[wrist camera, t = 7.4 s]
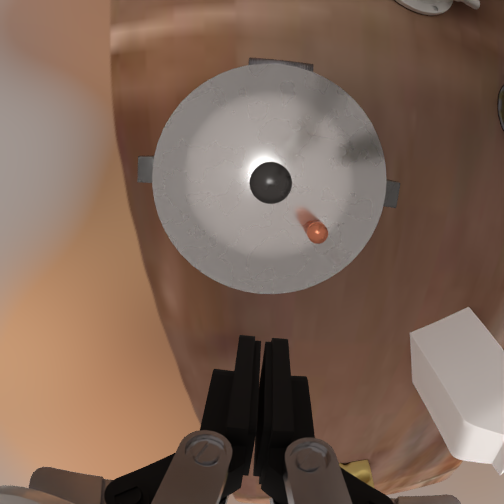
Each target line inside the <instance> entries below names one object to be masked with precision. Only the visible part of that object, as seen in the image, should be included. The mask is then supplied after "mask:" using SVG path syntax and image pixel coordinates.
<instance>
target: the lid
mask: <svg viewBox="0 0 504 504" xmlns="http://www.w3.org/2000/svg"><path fill="white" fill-rule="evenodd" d="M152 185H153V194H154V201H155V205H156V208H157V212H158V215H159V218H160V220H161V223H162V225H163V227H164V230H165V232H166V233H167V235H168V237H169V238H170V240H171V242H172V243H173V244H174V246H175V247H176V248H177V250H178V251H179V252H180V253H181V255H182V256H183V257H184V258H185V259H186V260H187V261H188V262H189V263H191V264H192V265H193V266H194V267H195V268H197V269H198V270H199V271H201V272H202V273H203V274H205V275H206V276H208V277H210V278H211V279H213V280H215V281H217V282H219V283H221V284H224V285H226V286H228V287H231V288H235V289H238V290H241V291H246V292H252V293H258V294H280V293H289V292H294V291H298V290H303V289H306V288H308V287H311V286H314V285H317V284H319V283H321V282H323V281H325V280H327V279H329V278H330V277H332V276H333V275H335V274H336V273H338V272H339V271H341V270H342V269H343V268H344V267H346V266H347V265H348V264H349V263H350V262H351V261H352V260H353V259H354V258H355V257H356V256H357V255H358V254H359V253H360V252H361V251H362V249H363V248H364V246H365V245H366V243H367V242H368V241H369V239H370V238H371V236H372V234H373V232H374V230H375V228H376V226H377V224H378V221H379V218H380V215H381V213H382V209H383V205H384V200H385V194H386V165H385V159H384V154H383V150H382V147H381V144H380V141H379V138H378V135H377V133H376V131H375V129H374V127H373V125H372V123H371V121H370V120H369V118H368V117H367V115H366V114H365V112H364V111H363V110H362V108H361V107H360V106H359V105H358V104H357V103H356V101H355V100H354V99H353V98H352V97H351V96H350V95H348V94H347V93H346V92H345V91H344V90H343V89H341V88H340V87H339V86H337V85H336V84H334V83H333V82H331V81H330V80H328V79H326V78H324V77H322V76H320V75H318V74H316V73H314V72H313V64H308V63H300V62H293V61H284V60H274V59H263V58H249V65H248V66H243V67H239V68H235V69H232V70H229V71H227V72H224V73H221V74H219V75H217V76H215V77H213V78H211V79H210V80H208V81H206V82H204V83H203V84H202V85H200V86H199V87H198V88H196V89H195V90H194V91H192V92H191V93H190V94H189V95H188V96H187V97H186V98H185V99H184V100H183V101H182V102H181V103H180V104H179V106H178V107H177V108H176V110H175V111H174V112H173V114H172V115H171V116H170V118H169V120H168V122H167V123H166V125H165V127H164V129H163V131H162V134H161V136H160V139H159V141H158V144H157V148H156V152H155V156H154V162H153V171H152Z"/></svg>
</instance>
